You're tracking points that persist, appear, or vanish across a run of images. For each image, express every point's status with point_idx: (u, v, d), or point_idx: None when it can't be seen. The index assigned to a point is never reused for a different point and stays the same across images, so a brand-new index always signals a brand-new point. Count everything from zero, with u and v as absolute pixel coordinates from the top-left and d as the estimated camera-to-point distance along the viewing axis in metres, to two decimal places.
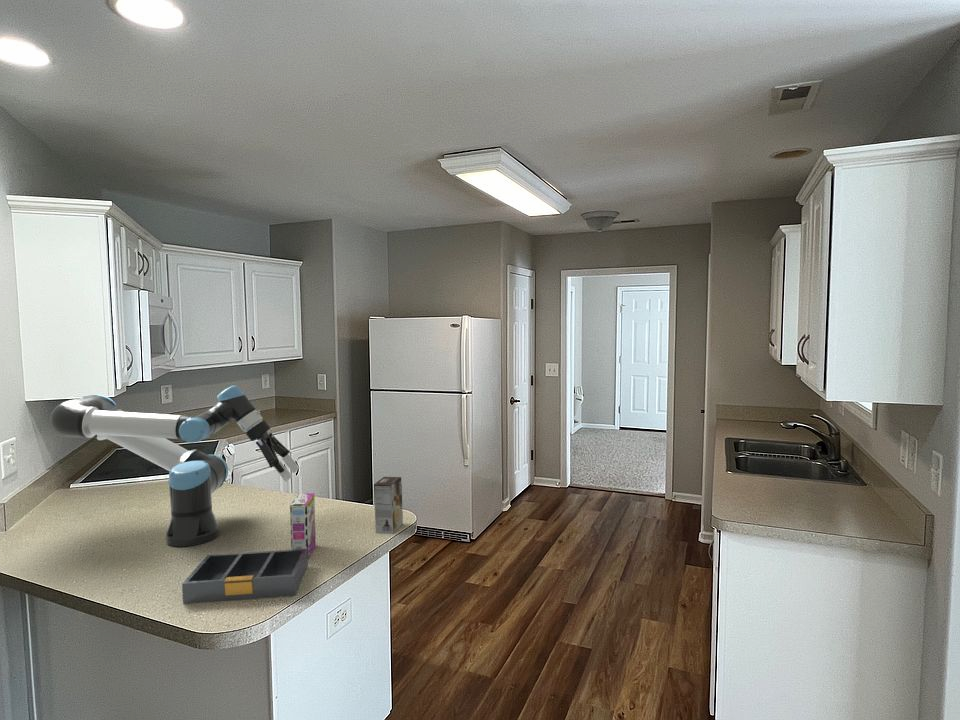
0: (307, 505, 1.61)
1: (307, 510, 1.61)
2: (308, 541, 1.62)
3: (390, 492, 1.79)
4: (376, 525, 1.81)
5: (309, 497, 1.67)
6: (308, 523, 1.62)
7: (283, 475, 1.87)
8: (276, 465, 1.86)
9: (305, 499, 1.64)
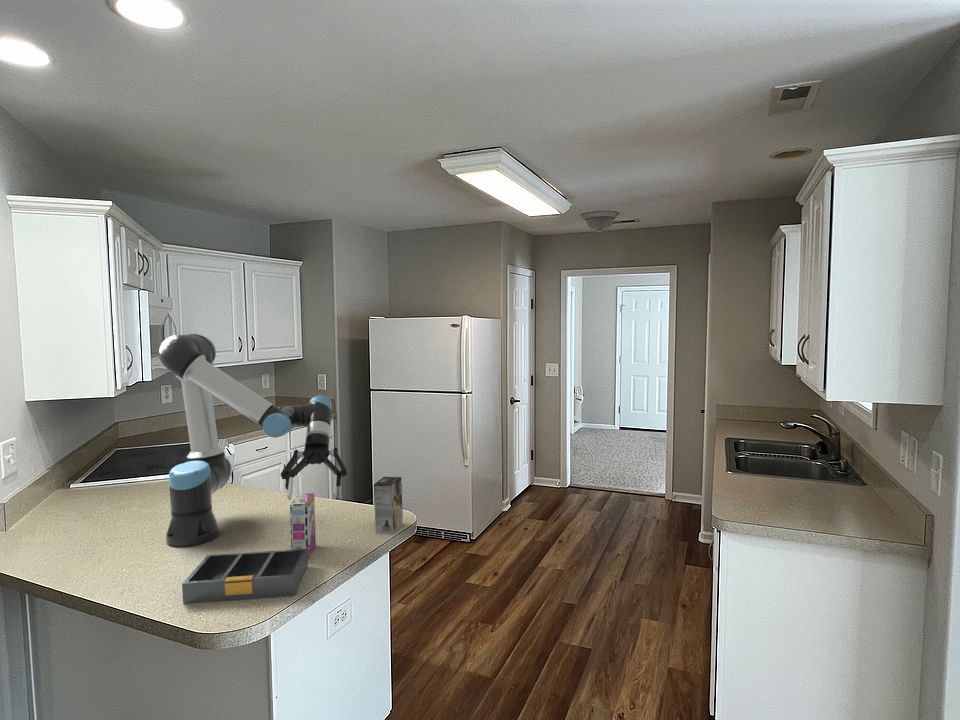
0: (307, 505, 1.61)
1: (307, 510, 1.61)
2: (308, 541, 1.62)
3: (390, 492, 1.79)
4: (376, 525, 1.81)
5: (309, 497, 1.67)
6: (308, 523, 1.62)
7: (336, 487, 1.75)
8: (340, 477, 1.78)
9: (305, 499, 1.64)
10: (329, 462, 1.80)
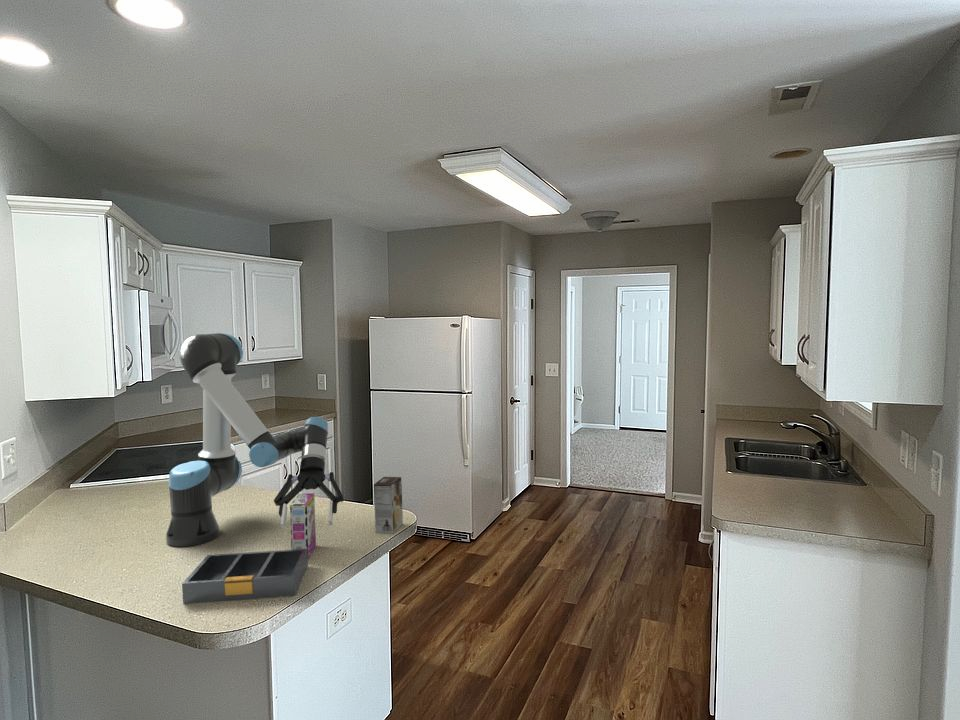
0: (307, 505, 1.61)
1: (307, 510, 1.61)
2: (308, 541, 1.62)
3: (390, 492, 1.79)
4: (376, 525, 1.81)
5: (309, 497, 1.67)
6: (308, 523, 1.62)
7: (331, 514, 1.68)
8: (337, 503, 1.71)
9: (305, 499, 1.64)
10: (325, 487, 1.72)
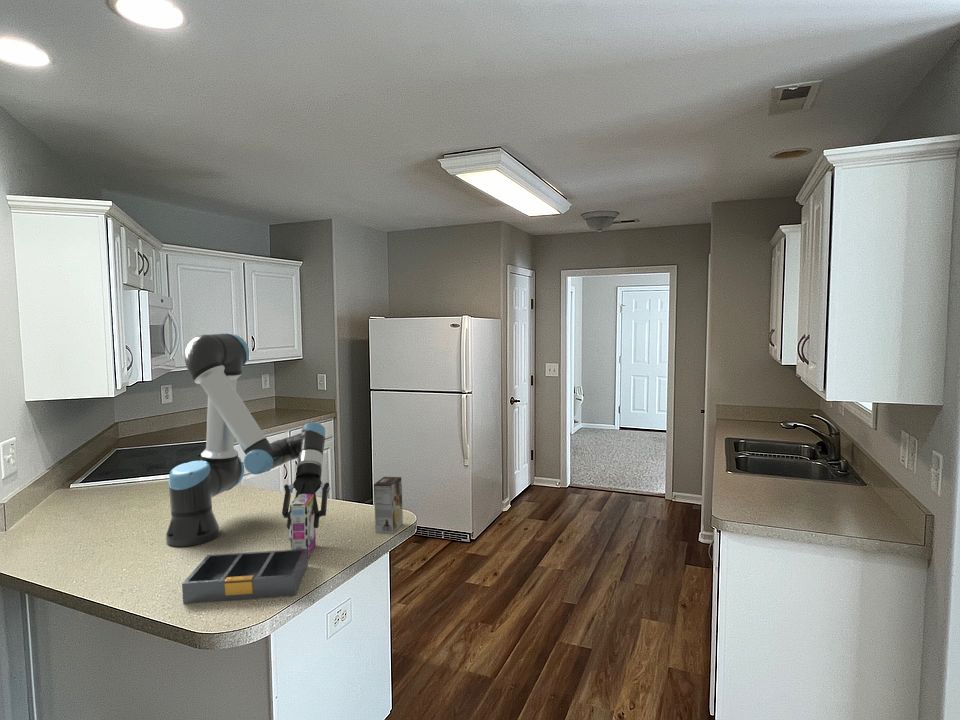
0: (307, 505, 1.61)
1: (307, 510, 1.61)
2: (308, 541, 1.62)
3: (390, 492, 1.79)
4: (376, 525, 1.81)
5: (309, 497, 1.67)
6: (308, 523, 1.62)
7: (313, 529, 1.64)
8: (318, 517, 1.67)
9: (305, 499, 1.64)
10: (314, 498, 1.69)
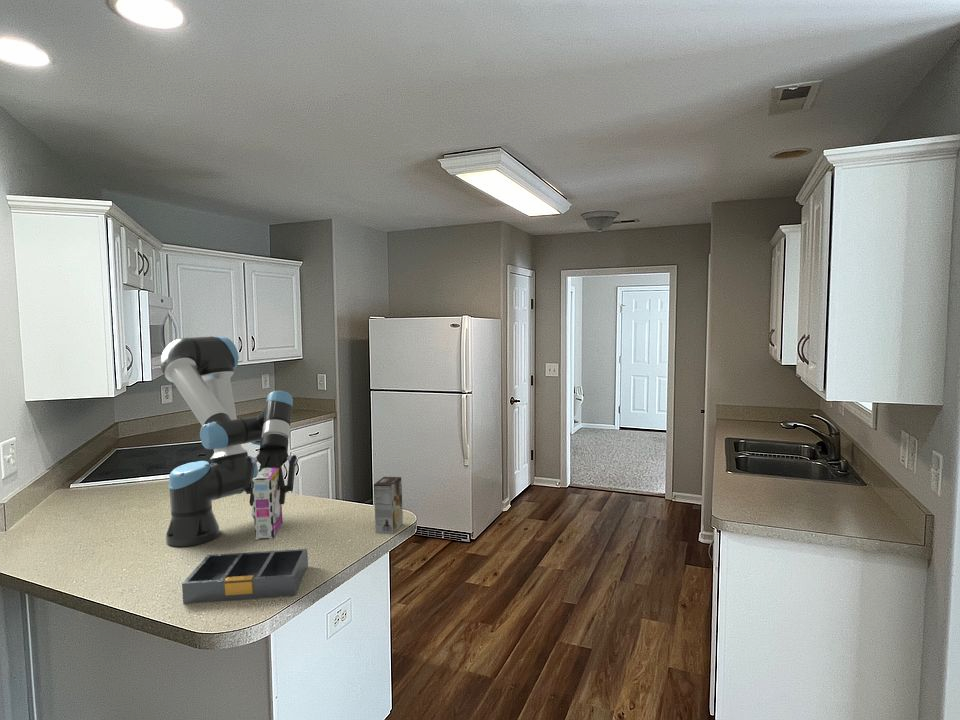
0: (271, 479, 1.46)
1: (271, 485, 1.46)
2: (273, 518, 1.47)
3: (390, 492, 1.79)
4: (376, 525, 1.81)
5: (274, 471, 1.51)
6: (273, 499, 1.47)
7: (278, 505, 1.49)
8: (285, 493, 1.52)
9: (270, 473, 1.49)
10: (279, 472, 1.54)
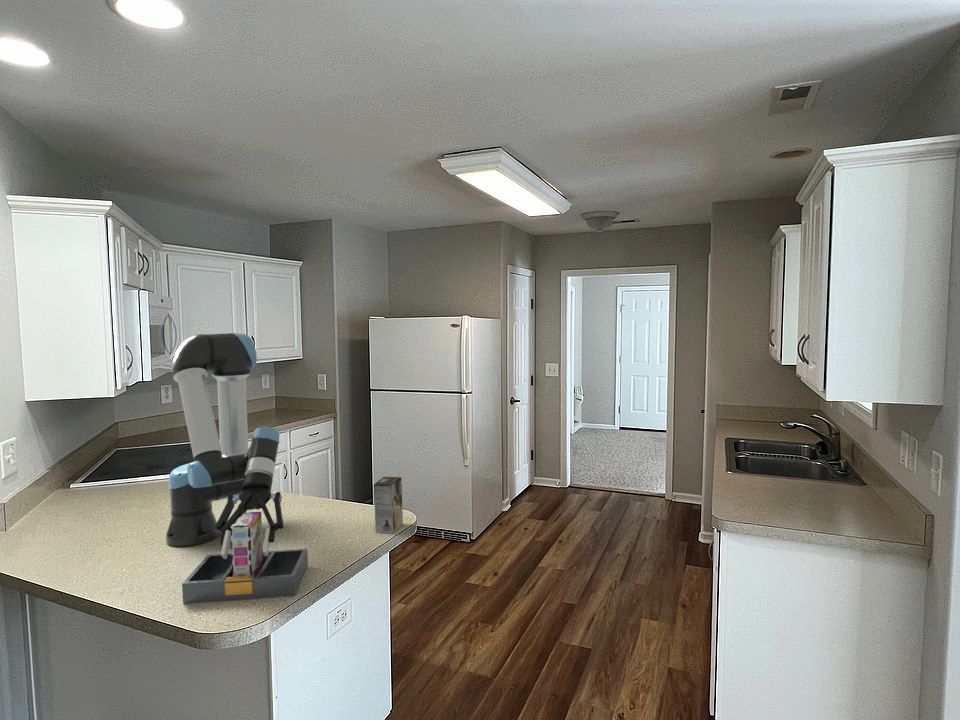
0: (250, 526, 1.42)
1: (251, 532, 1.42)
2: (252, 567, 1.43)
3: (390, 492, 1.79)
4: (376, 525, 1.81)
5: (254, 516, 1.48)
6: (252, 546, 1.43)
7: (267, 544, 1.45)
8: (274, 530, 1.48)
9: (249, 519, 1.45)
10: (265, 510, 1.51)
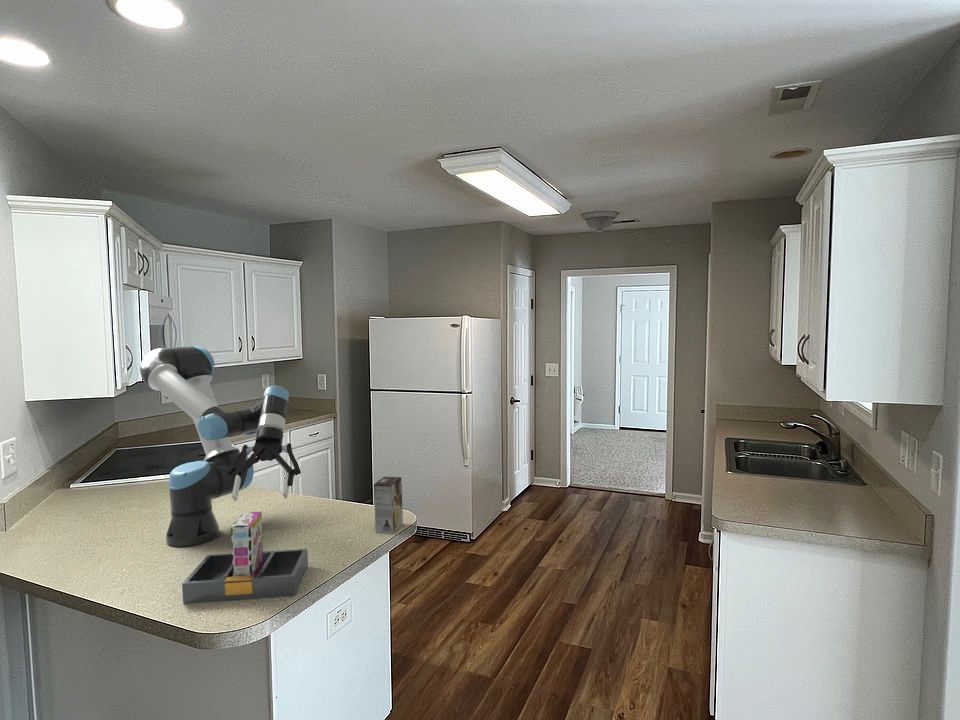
0: (251, 526, 1.42)
1: (251, 532, 1.42)
2: (252, 567, 1.43)
3: (390, 492, 1.79)
4: (376, 525, 1.81)
5: (255, 517, 1.48)
6: (252, 547, 1.43)
7: (287, 487, 1.59)
8: (293, 475, 1.62)
9: (250, 520, 1.45)
10: (281, 459, 1.64)
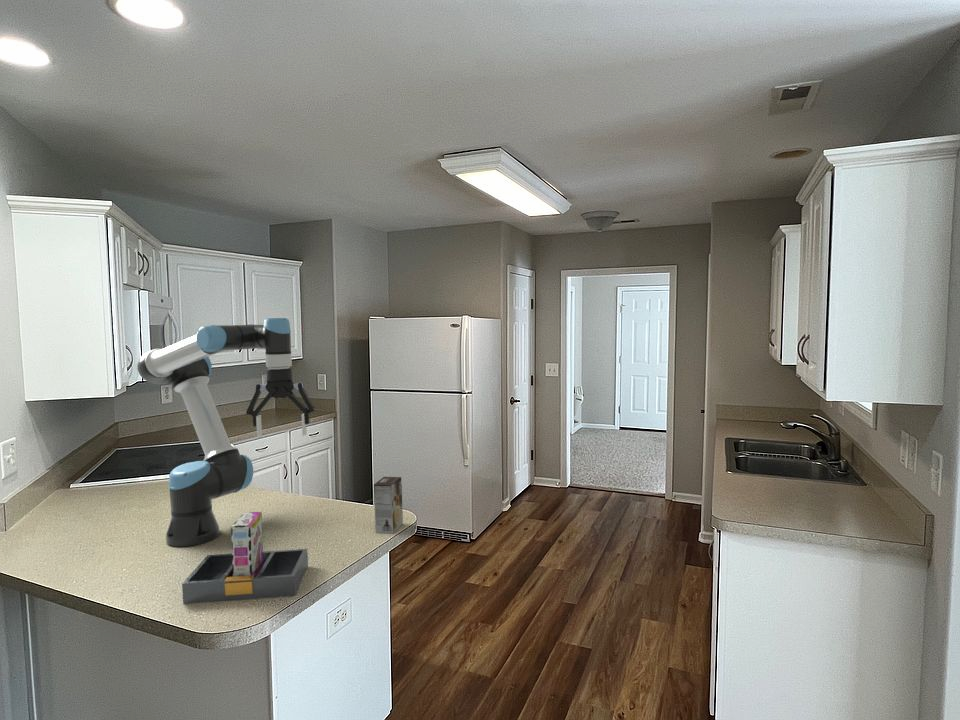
0: (251, 526, 1.42)
1: (251, 532, 1.42)
2: (252, 567, 1.43)
3: (390, 492, 1.79)
4: (376, 525, 1.81)
5: (255, 517, 1.48)
6: (252, 547, 1.43)
7: (305, 427, 1.76)
8: (308, 414, 1.76)
9: (250, 520, 1.45)
10: (295, 400, 1.75)
